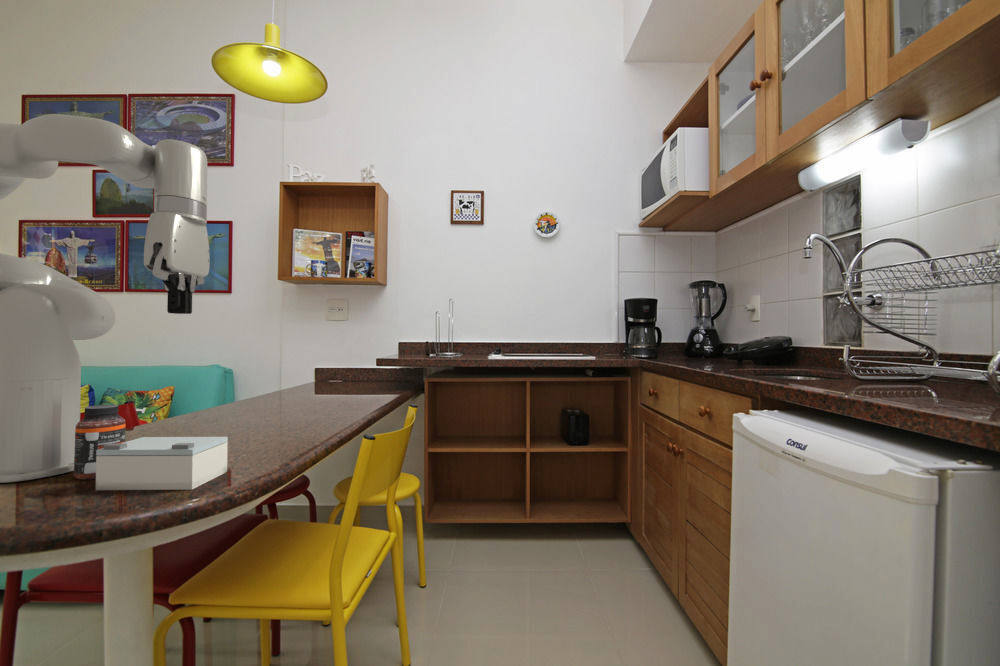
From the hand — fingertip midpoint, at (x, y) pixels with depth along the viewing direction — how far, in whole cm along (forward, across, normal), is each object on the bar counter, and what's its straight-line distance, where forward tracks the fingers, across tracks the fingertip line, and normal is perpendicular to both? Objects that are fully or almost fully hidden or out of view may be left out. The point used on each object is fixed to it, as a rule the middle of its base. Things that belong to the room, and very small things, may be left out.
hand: (179, 313), depth 73 cm
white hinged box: (+27, +9, +5) cm, 29 cm away
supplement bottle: (+27, +6, -8) cm, 29 cm away
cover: (+22, +9, +5) cm, 24 cm away
